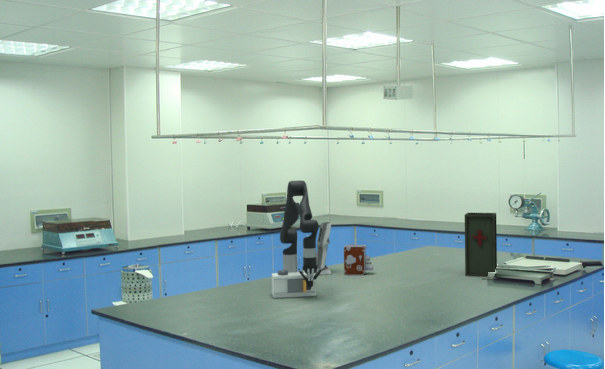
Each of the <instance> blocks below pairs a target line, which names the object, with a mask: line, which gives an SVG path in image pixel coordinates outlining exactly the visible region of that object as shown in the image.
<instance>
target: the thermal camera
mask: <svg viewBox="0 0 605 369" xmlns="http://www.w3.org/2000/svg"><path fill="white" fill-rule="evenodd" d="M331 228H332V223H331V222H330V221H325V222H322V223H320V227H319V230H318V232H319V233H318V236H317V240H316V254H317V267H318V269H320V270H321V273H320V274H319V276H329V275H332V271H331V269H330V268H329V267H328V266H327V265H326V260H327V253H328V245H330V235H331ZM316 271H317V270H316ZM316 273H317V272H315V274H316Z"/></svg>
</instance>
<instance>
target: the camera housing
mask: <svg viewBox="0 0 605 369" xmlns="http://www.w3.org/2000/svg"><path fill="white" fill-rule="evenodd" d="M303 272H304V271H303ZM303 274H304V275H305V277H307V274H306V273H305V272H304V273H303ZM314 276H315V273H314ZM314 276H313V277H314ZM291 279H304V278H303V276H302V275H301V274H300V273H299V271H297V272H292V273H288V270H283V269H279V270H277V272H274V273H271V295H272V297H273V298H274V299H281V298H298V297H316V296H317V293H318V292H317V278H316V279H315V280H313V286H312V287H309V286H308V280H306V292H288V280H291Z"/></svg>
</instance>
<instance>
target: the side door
mask: <svg viewBox="0 0 605 369" xmlns="http://www.w3.org/2000/svg"><path fill="white" fill-rule="evenodd" d="M288 292H306V280H305V279H291V280H288Z"/></svg>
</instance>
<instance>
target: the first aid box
mask: <svg viewBox="0 0 605 369" xmlns="http://www.w3.org/2000/svg"><path fill="white" fill-rule="evenodd" d="M497 240H498V239H497V212H467V213H465V214H464V265H465V267H464V268H465V269H464V271H465V273H464V274H465V277H477V278H478V277H479V278H480V277H481V278H488V277H487V276H488V272H495V269H496V267H497V268H498V254H497V252H498V251H497V250H498V249H497V247H498V245H497V243H498V241H497Z"/></svg>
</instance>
